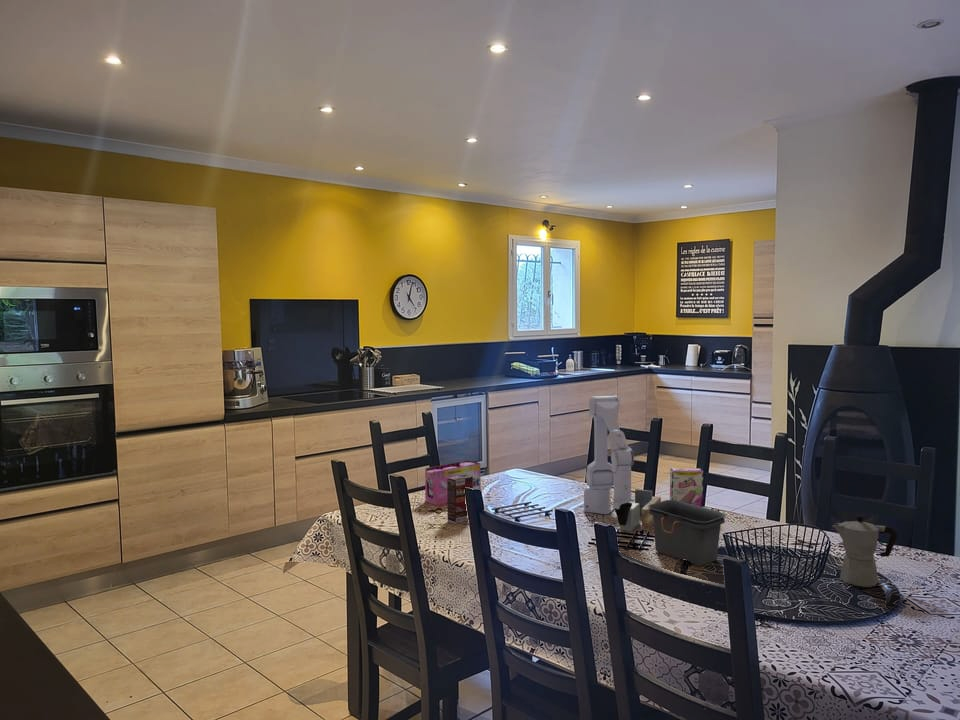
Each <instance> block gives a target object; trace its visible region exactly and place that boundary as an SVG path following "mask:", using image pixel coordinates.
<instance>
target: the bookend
mask: <svg viewBox="0 0 960 720" xmlns="http://www.w3.org/2000/svg"><path fill="white" fill-rule="evenodd" d="M634 499H635V501H634V503H639V504H640V514H642V508H643V507H644V506H646V505H647V504H648V503H649V502H650V501H651V500H652V499H653V490H647V489H639V488H637V489H636V488H635V489H634Z"/></svg>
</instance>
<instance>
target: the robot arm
mask: <svg viewBox="0 0 960 720" xmlns="http://www.w3.org/2000/svg"><path fill="white" fill-rule="evenodd" d="M620 406H621V404H620V399H619V397H618V396H617V395H602V396H601V395H598V396H596V395H595V396H594V395H591V396H590V398H589V401H588V408H589V409H588V410H589V412H588V413H589V417H590V418H593V422H594V423H593V425H594V426H593V428H594V441H593V442H594V444H593V445H594V447H593V449H594V453H593V454H594V458H593V461H592V462H591V463H589V464H588V465H587V467H586V473H585V481H586V484H587V485H586V486H585V488H584V491H583V513H591V514H592V513H593V514H601V515H609V514H610V513H612V511H613V512H614V511H615V514H616V518H618V519H617V522H618V525H619V526H620V525H624V526H625V525H626V523H627V518H628V514H629V511H630V508H631V506H632V503H635V497H632V467H633V465H634V463H635V456H634V451H633V449H632V448H631V447H630V446H629V445H628V442H627V439H626V435H625V432H623V430H620V424H619V418H618V414H619V411H620V409H621V408H620ZM608 432H609V433H608ZM608 443H609V447H610V451H611V454H610V461H611V463H610V462H608V459H609V458H608ZM612 488H613V497H612V499H613V500H612V502H611V493H612V492H611V489H612ZM628 502H630V503H628ZM611 503H612V504H611ZM611 506H612V507H611Z"/></svg>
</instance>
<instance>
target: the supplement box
mask: <svg viewBox="0 0 960 720" xmlns="http://www.w3.org/2000/svg"><path fill="white" fill-rule="evenodd" d="M465 487H470V488H473V477H472V476H469V475H461V476H456V477H451V478H447V503H446V504H447V522H448V523H450V524H454V525H457V524H461V523H462V524H463V523H466V522H468V518H467V511H466V504H465V493H464V489H465Z"/></svg>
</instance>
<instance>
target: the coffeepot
mask: <svg viewBox="0 0 960 720" xmlns="http://www.w3.org/2000/svg"><path fill="white" fill-rule="evenodd" d="M864 518H865V516H864V515H861V514H857V515H856V519H857V521H855V520H853V521H852V520H851V521H843V522H841V523H840V522H838V523H837V522H836V523H834V524H832V527H833V528H834V529H835V530H836V532H837V533H838V535H839V537H840V538H841V541H842V546H843V549H844V550H845V554H844V556H843V560H842V565H841V571H840V574H839V575H840V576H839V578H840V580H841V581H842V582H844V583H845V584H849V585H851V584H852V586H855V587H860V586H861V588H872V586H873V587H876V586H877V585H878V584H877V583H879V582H880V581H879V575H878V570H877V564H876V559H875V558H874V554H875V553H876V551H877V545H878V541H879V534H889V537H888V541H887V544H886V546H885V551H884V552H879V555H880V556H881V557H886V558H887V557H889V556H890V555H891V553H892V551H893V548H894V546H895V543H896V542H897V540H898V536H899V534H898V532H897V531H896V530H895V528H893V527H892V526H889V525H888V526H887V525H878V524H877V525H875V524H874V523H869V522H865V521H864ZM878 581H879V582H878ZM876 584H877V585H876ZM875 585H876V586H875Z"/></svg>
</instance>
